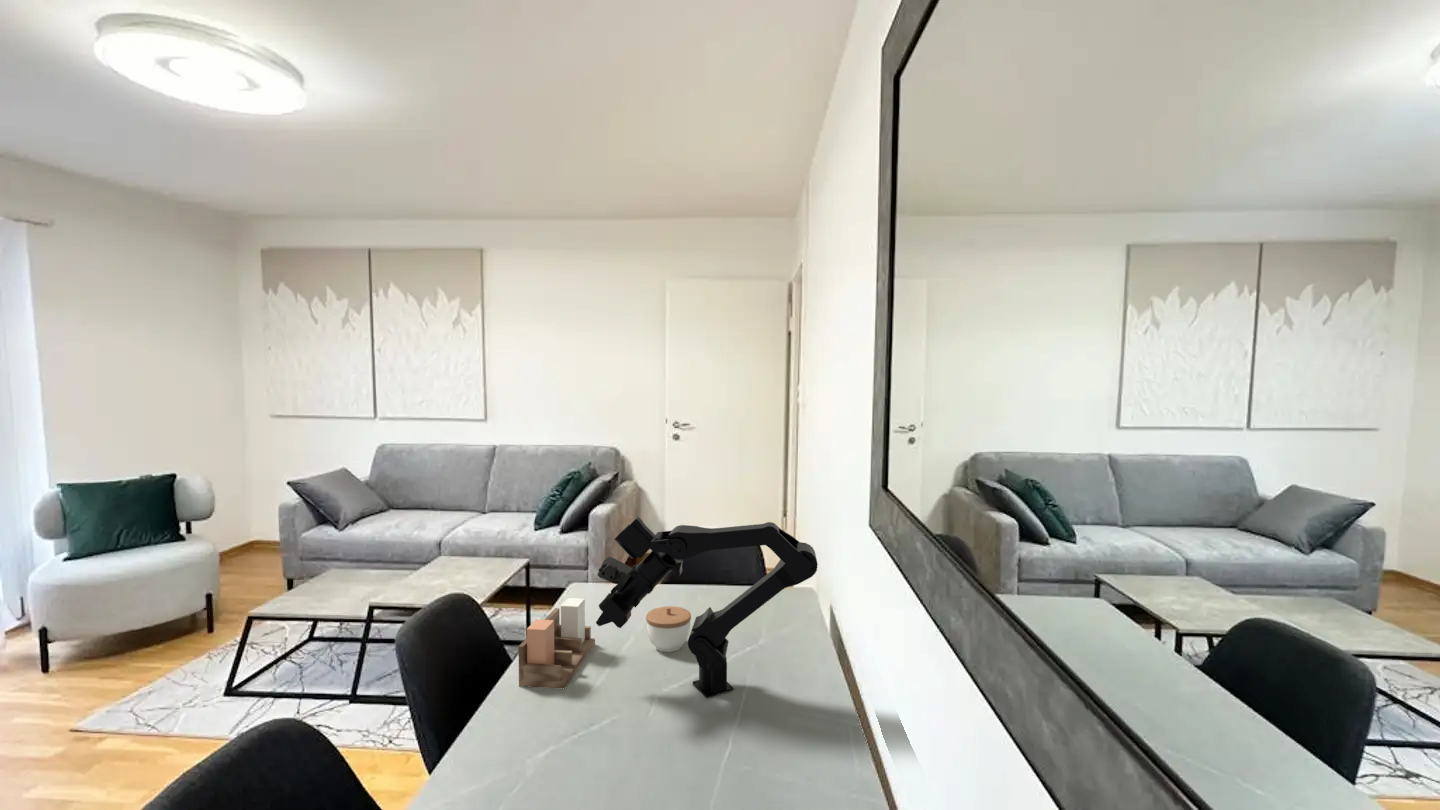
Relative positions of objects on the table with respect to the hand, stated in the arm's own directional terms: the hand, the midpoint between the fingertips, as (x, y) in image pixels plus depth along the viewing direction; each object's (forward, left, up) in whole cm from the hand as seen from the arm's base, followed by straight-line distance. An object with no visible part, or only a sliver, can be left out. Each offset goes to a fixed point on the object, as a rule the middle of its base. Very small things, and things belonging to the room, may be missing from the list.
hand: (597, 624), depth 127 cm
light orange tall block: (+7, +10, -11) cm, 16 cm away
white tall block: (+16, +1, -11) cm, 19 cm away
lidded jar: (+8, -20, -13) cm, 25 cm away
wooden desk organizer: (+12, +5, -12) cm, 18 cm away
